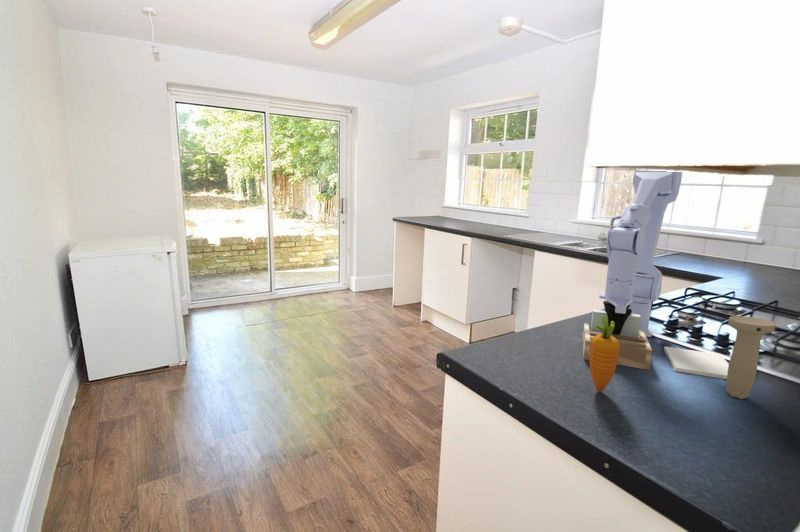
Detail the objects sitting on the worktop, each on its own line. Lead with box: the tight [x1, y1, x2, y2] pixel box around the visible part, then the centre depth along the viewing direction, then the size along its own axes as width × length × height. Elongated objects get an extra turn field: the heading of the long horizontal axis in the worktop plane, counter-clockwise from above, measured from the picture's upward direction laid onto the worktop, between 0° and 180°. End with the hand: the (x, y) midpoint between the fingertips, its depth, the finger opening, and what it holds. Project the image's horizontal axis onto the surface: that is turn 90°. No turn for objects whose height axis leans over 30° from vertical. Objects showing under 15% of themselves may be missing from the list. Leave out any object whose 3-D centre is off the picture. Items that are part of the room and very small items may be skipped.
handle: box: [725, 315, 777, 400], centre depth 73 cm, size 5×6×15 cm
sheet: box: [590, 308, 641, 338], centre depth 95 cm, size 2×10×9 cm, turn 66°
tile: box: [663, 345, 729, 380], centre depth 88 cm, size 12×11×1 cm
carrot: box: [588, 316, 620, 393], centre depth 74 cm, size 5×5×15 cm
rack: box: [582, 322, 653, 371], centre depth 92 cm, size 12×13×6 cm
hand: (613, 332), depth 95 cm, fingers closed on sheet, 2 cm apart
